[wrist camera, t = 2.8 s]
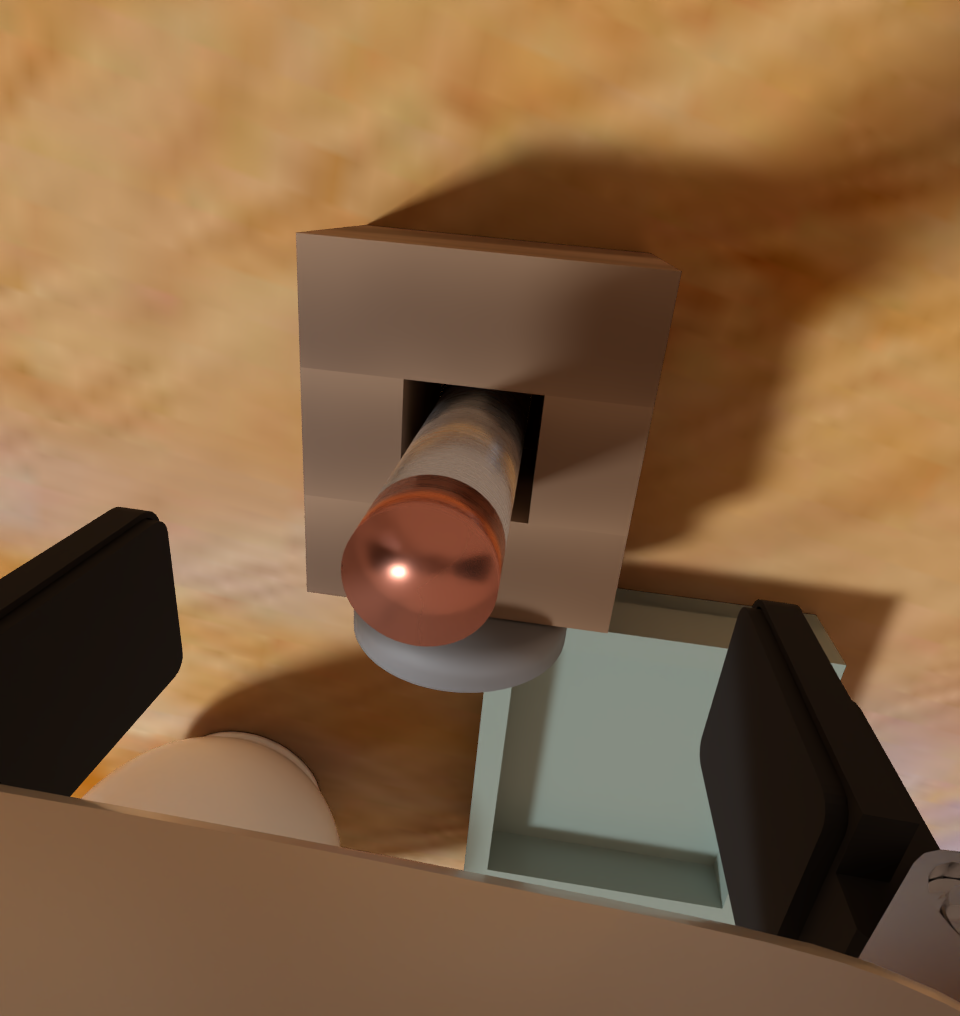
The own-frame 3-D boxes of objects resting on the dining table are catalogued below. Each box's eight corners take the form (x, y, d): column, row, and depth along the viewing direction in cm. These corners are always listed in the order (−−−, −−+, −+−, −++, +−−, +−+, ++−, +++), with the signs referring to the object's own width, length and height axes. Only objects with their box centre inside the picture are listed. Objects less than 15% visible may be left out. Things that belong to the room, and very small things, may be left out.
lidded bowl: (428, 813, 32) (367, 1090, 22) (263, 904, 36) (149, 1169, 26) (234, 638, 29) (58, 869, 19) (78, 761, 33) (-130, 1001, 23)
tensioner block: (365, 224, 21) (270, 235, 14) (650, 253, 20) (693, 278, 14) (361, 560, 26) (291, 684, 19) (588, 591, 26) (597, 730, 19)
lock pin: (453, 349, 22) (340, 497, 11) (536, 358, 22) (506, 519, 11) (448, 428, 24) (341, 635, 12) (526, 437, 23) (490, 655, 12)
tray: (500, 572, 26) (492, 615, 23) (815, 614, 25) (846, 665, 22) (471, 823, 32) (462, 881, 29) (725, 864, 31) (740, 927, 28)
